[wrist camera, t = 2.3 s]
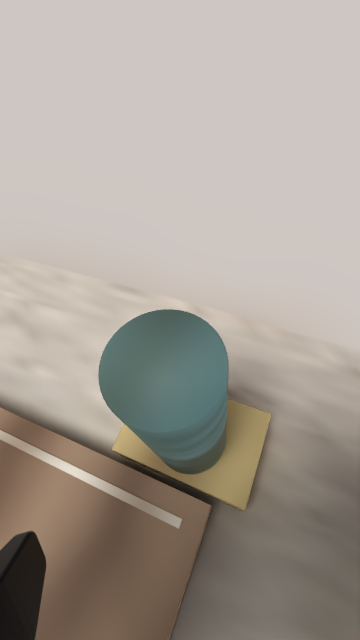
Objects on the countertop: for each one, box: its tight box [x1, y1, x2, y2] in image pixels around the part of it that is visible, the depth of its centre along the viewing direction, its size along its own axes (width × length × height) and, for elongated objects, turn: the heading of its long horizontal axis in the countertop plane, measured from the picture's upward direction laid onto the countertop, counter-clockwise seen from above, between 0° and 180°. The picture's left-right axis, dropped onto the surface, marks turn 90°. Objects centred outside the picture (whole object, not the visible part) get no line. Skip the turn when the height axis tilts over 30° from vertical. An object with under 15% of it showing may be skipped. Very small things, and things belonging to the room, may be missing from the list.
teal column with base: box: [99, 310, 272, 511], centre depth 14 cm, size 7×5×11 cm, turn 68°
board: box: [0, 408, 212, 640], centre depth 17 cm, size 20×8×2 cm, turn 68°
